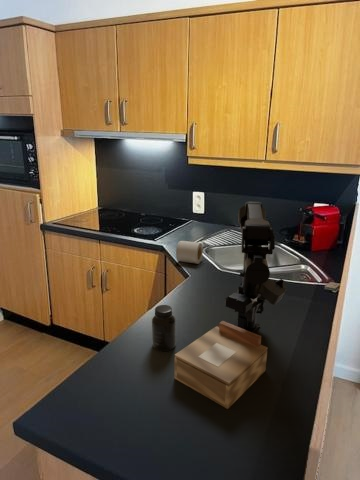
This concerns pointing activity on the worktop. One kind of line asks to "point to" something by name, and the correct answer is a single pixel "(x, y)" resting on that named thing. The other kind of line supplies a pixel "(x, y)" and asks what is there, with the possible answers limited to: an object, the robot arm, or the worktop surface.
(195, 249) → the toilet paper
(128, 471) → the worktop surface
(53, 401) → the worktop surface
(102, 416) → the worktop surface
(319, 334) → the worktop surface
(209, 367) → the mailer lid
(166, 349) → the supplement bottle
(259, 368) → the mailer box
